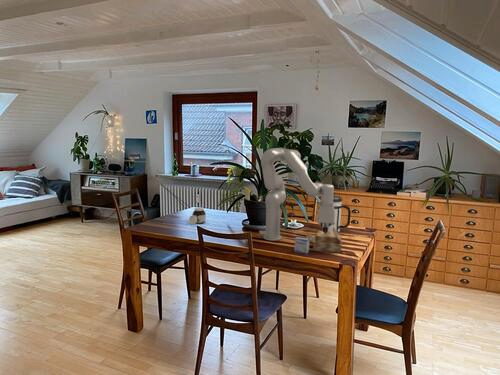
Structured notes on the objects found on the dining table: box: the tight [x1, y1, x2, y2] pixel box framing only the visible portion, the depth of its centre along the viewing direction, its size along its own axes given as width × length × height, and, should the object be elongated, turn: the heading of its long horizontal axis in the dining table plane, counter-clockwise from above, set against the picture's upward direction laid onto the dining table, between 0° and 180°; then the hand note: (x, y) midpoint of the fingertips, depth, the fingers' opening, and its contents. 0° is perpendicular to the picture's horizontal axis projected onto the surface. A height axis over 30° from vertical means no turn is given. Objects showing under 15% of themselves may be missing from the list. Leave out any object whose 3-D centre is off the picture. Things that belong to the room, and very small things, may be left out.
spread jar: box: [188, 206, 207, 226], centre depth 270 cm, size 12×11×12 cm
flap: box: [333, 227, 343, 244], centre depth 220 cm, size 1×12×8 cm
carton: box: [305, 230, 343, 254], centre depth 222 cm, size 21×24×7 cm
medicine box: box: [293, 236, 310, 255], centre depth 212 cm, size 8×4×9 cm, turn 66°
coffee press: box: [324, 191, 351, 235], centre depth 251 cm, size 17×16×30 cm
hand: (325, 233), depth 221 cm, fingers closed
